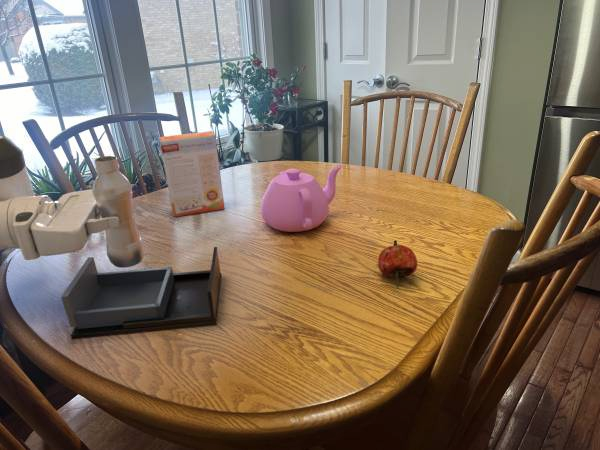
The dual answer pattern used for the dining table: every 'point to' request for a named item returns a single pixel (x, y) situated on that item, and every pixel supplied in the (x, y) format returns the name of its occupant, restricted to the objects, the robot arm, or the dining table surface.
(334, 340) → the dining table surface
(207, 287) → the base
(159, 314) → the gray sliding drawer
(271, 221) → the teapot
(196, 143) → the cracker box
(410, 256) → the pomegranate
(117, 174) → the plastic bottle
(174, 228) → the dining table surface
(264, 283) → the dining table surface
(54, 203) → the robot arm
